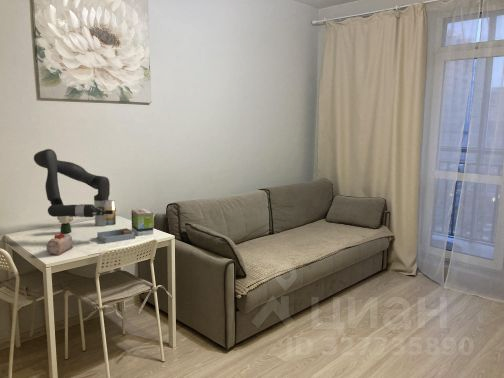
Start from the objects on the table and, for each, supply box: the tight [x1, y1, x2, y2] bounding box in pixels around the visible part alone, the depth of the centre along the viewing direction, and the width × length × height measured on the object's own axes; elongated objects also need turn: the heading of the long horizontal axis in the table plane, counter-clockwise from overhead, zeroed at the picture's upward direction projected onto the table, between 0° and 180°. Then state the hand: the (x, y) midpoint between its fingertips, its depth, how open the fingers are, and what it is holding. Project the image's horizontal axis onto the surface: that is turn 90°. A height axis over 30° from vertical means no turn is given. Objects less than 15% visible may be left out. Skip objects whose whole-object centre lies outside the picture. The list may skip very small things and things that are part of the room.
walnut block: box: [121, 228, 132, 235], centre depth 250 cm, size 6×4×4 cm, turn 37°
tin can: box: [104, 199, 117, 226], centre depth 242 cm, size 6×6×14 cm
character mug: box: [56, 216, 74, 234], centre depth 258 cm, size 11×7×13 cm, turn 79°
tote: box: [97, 227, 136, 244], centre depth 246 cm, size 14×18×4 cm
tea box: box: [130, 207, 154, 237], centre depth 259 cm, size 15×10×15 cm
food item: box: [46, 233, 74, 256], centre depth 222 cm, size 14×8×10 cm, turn 171°
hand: (114, 211), depth 242 cm, fingers closed on tin can, 6 cm apart
